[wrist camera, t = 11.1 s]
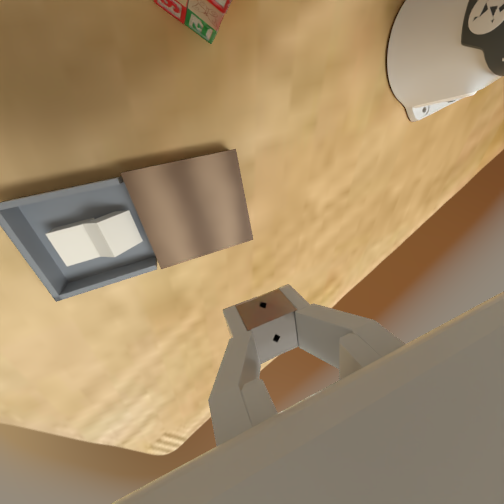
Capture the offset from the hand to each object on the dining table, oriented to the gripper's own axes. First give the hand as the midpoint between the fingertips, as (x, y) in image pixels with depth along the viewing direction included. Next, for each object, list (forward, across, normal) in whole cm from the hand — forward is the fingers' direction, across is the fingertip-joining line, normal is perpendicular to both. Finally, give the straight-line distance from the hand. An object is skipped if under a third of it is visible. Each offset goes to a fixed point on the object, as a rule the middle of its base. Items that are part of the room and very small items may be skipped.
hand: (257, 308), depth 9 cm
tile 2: (+22, +10, 0) cm, 24 cm away
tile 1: (+21, +13, 0) cm, 25 cm away
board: (+24, 0, 0) cm, 24 cm away
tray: (+24, +12, 0) cm, 27 cm away
